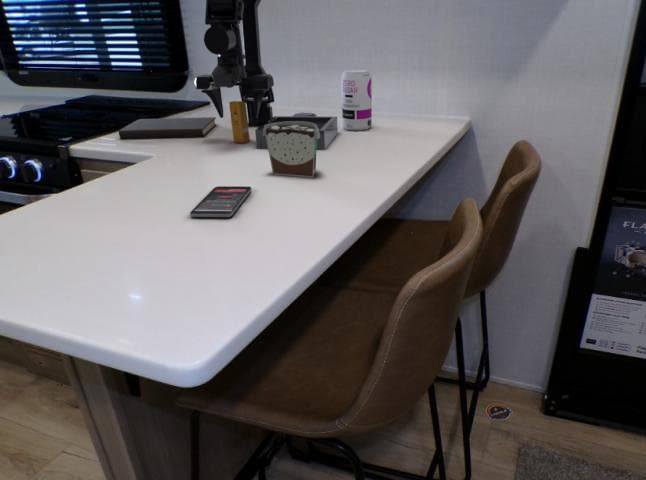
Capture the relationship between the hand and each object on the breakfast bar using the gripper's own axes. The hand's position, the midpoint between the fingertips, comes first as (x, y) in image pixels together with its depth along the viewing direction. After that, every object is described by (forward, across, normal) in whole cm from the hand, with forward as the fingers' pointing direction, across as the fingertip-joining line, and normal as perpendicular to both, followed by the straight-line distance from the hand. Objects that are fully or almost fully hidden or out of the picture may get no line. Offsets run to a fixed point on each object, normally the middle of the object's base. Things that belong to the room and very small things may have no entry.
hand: (238, 117), depth 135 cm
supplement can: (+6, +28, +18) cm, 34 cm away
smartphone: (+6, +13, -47) cm, 49 cm away
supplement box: (+6, 0, 0) cm, 6 cm away
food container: (+6, +22, -26) cm, 35 cm away
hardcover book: (+6, -25, +10) cm, 28 cm away
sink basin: (+6, +15, +2) cm, 16 cm away
